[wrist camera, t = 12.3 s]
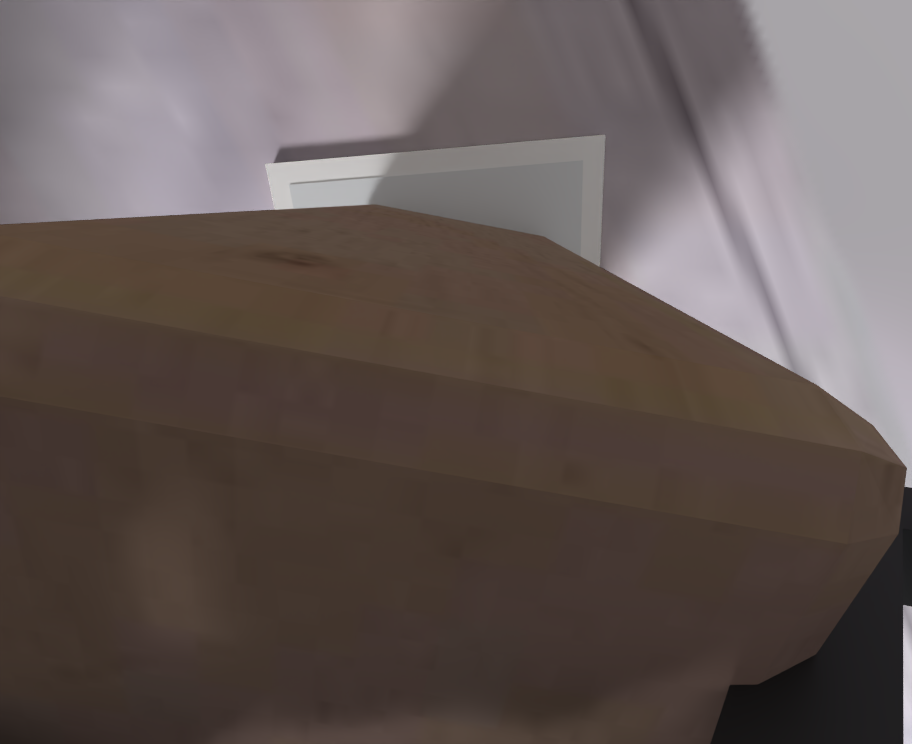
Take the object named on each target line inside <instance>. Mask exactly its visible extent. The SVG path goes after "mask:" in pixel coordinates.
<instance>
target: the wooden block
mask: <svg viewBox="0 0 912 744" xmlns="http://www.w3.org/2000/svg"><path fill="white" fill-rule="evenodd" d="M906 470H907V468H906V466H905V465H904V464H903V463H902V461H901V460H900V459H899V458H898V456H897V455H896V454H895V453H894V451H893V450H892V449H891V447H890V446H889V445H888V444H887V442H886V441H885V440H884V439H883V437H882V436H881V435H880V434H879V432H878V431H877V430H876V429H875V427H874V426H873V425H872V424H870V423H869V422H867V421H866V420H865V419H863V418H862V417H861V416H859V415H858V414H856V413H855V412H854V411H852V410H851V409H849V408H848V407H847V406H845V405H844V404H842V403H841V402H840V401H838V400H837V399H835V398H834V397H833V396H831V395H830V394H829V393H827V392H826V391H824V390H823V389H822V388H820V387H819V386H817V385H816V384H814V383H812V382H810V381H808V380H806V379H805V378H803V377H801V376H799V375H797V374H795V373H794V372H792V371H790V370H788V369H786V368H784V367H783V366H781V365H779V364H777V363H775V362H773V361H772V360H770V359H768V358H766V357H764V356H762V355H761V354H759V353H757V352H755V351H753V350H751V349H750V348H748V347H746V346H744V345H742V344H740V343H739V342H737V341H735V340H733V339H731V338H729V337H728V336H726V335H724V334H722V333H720V332H718V331H717V330H715V329H713V328H711V327H709V326H707V325H706V324H704V323H702V322H700V321H698V320H696V319H695V318H693V317H691V316H689V315H687V314H685V313H683V312H682V311H680V310H678V309H676V308H674V307H672V306H671V305H669V304H667V303H665V302H663V301H661V300H660V299H658V298H656V297H654V296H652V295H650V294H649V293H647V292H645V291H643V290H641V289H639V288H638V287H636V286H634V285H632V284H630V283H628V282H627V281H625V280H623V279H621V278H619V277H617V276H616V275H614V274H612V273H610V272H608V271H606V270H605V269H603V268H601V267H599V266H597V265H595V264H594V263H592V262H590V261H588V260H586V259H584V258H583V257H581V256H579V255H577V254H575V253H573V252H572V251H570V250H568V249H566V248H564V247H562V246H561V245H559V244H557V243H555V242H553V241H551V240H550V239H548V238H546V237H544V236H540V235H534V234H529V233H524V232H518V231H513V230H508V229H503V228H497V227H492V226H487V225H482V224H476V223H471V222H466V221H461V220H455V219H450V218H445V217H440V216H434V215H429V214H424V213H419V212H413V211H408V210H403V209H398V208H392V207H387V206H382V205H377V204H372V205H353V206H335V207H316V208H298V209H280V210H261V211H243V212H224V213H206V214H187V215H169V216H150V217H132V218H114V219H95V220H77V221H58V222H40V223H21V224H3V225H0V744H710V743H711V740H712V737H713V734H714V731H715V728H716V725H717V722H718V719H719V716H720V713H721V710H722V707H723V704H724V701H725V698H726V695H727V692H728V689H729V686H730V685H755V684H760V683H762V682H764V681H766V680H768V679H769V678H771V677H773V676H775V675H777V674H779V673H781V672H783V671H785V670H787V669H789V668H791V667H793V666H794V665H796V664H798V663H800V662H802V661H804V660H806V659H808V658H810V657H812V656H814V655H816V654H817V652H818V651H819V649H820V648H821V646H822V645H823V643H824V642H825V641H826V639H827V638H828V636H829V635H830V633H831V632H832V630H833V629H834V627H835V626H836V624H837V623H838V622H839V620H840V619H841V617H842V616H843V614H844V613H845V611H846V610H847V608H848V607H849V605H850V604H851V602H852V601H853V600H854V598H855V597H856V595H857V594H858V592H859V591H860V589H861V588H862V586H863V585H864V583H865V582H866V581H867V579H868V578H869V576H870V575H871V573H872V572H873V570H874V569H875V567H876V566H877V564H878V563H879V562H880V560H881V559H882V557H883V556H884V554H885V553H886V551H887V550H888V548H889V547H890V545H891V544H892V542H893V541H894V540H895V538H896V537H897V535H898V534H899V526H900V518H901V510H902V502H903V494H904V486H905V478H906Z"/></svg>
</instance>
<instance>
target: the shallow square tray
mask: <svg viewBox="0 0 912 744" xmlns="http://www.w3.org/2000/svg"><path fill="white" fill-rule="evenodd" d="M604 157H605V135H593V136H582V137H570V138H559V139H547V140H536V141H524V142H513V143H501V144H490V145H478V146H467V147H455V148H444V149H432V150H421V151H409V152H398V153H386V154H375V155H363V156H352V157H340V158H329V159H317V160H306V161H294V162H283V163H271V164H265V166H266V171H267V176H268V181H269V185H270V190H271V195H272V200H273V205H274V210H280V209H298V208H316V207H335V206H353V205H372V204H377V205H382V206H387V207H392V208H398V209H403V210H408V211H413V212H419V213H424V214H429V215H434V216H440V217H445V218H450V219H455V220H461V221H466V222H471V223H476V224H482V225H487V226H492V227H497V228H503V229H508V230H513V231H518V232H524V233H529V234H534V235H540V236H544V237H546V238H548V239H550V240H551V241H553V242H555V243H557V244H559V245H561V246H562V247H564V248H566V249H568V250H570V251H572V252H573V253H575V254H577V255H579V256H581V257H583V258H584V259H586V260H588V261H590V262H592V263H594V264H595V265H597V266H599V267H600V254H601V230H602V205H603V181H604Z"/></svg>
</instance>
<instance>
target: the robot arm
mask: <svg viewBox="0 0 912 744" xmlns="http://www.w3.org/2000/svg"><path fill="white" fill-rule="evenodd" d="M903 605H907V606H912V488H908V487H904V494H903V502H902V510H901V518H900V526H899V534H898V535H897V537H896V538H895V540H894V541H893V542H892V544H891V545H890V547H889V548H888V550H887V551H886V553H885V554H884V556H883V557H882V559H881V560H880V562H879V563H878V564H877V566H876V567H875V569H874V570H873V572H872V573H871V575H870V576H869V578H868V579H867V581H866V582H865V583H864V585H863V586H862V588H861V589H860V591H859V592H858V594H857V595H856V597H855V598H854V600H853V601H852V602H851V604H850V605H849V607H848V608H847V610H846V611H845V613H844V614H843V616H842V617H841V619H840V620H839V622H838V623H837V624H836V626H835V627H834V629H833V630H832V632H831V633H830V635H829V636H828V638H827V639H826V641H825V642H824V643H823V645H822V646H821V648H820V649H819V651H818V652H817V654H816V655H814V656H812V657H810V658H808V659H806V660H804V661H802V662H800V663H798V664H796V665H794V666H793V667H791V668H789V669H787V670H785V671H783V672H781V673H779V674H777V675H775V676H773V677H771V678H769V679H768V680H766V681H764V682H762V683H760V684H755V685H730V686H729V689H728V692H727V695H726V698H725V701H724V704H723V707H722V710H721V713H720V716H719V719H718V722H717V725H716V728H715V731H714V734H713V737H712V740H711V743H710V744H903Z"/></svg>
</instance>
